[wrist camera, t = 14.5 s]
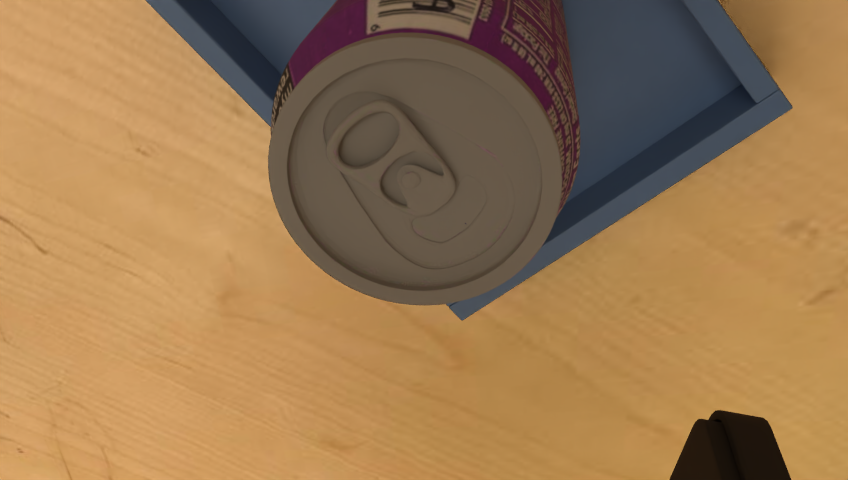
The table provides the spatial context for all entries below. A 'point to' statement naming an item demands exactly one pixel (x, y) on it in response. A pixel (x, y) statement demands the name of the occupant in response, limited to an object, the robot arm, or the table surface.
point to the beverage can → (426, 143)
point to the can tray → (594, 87)
